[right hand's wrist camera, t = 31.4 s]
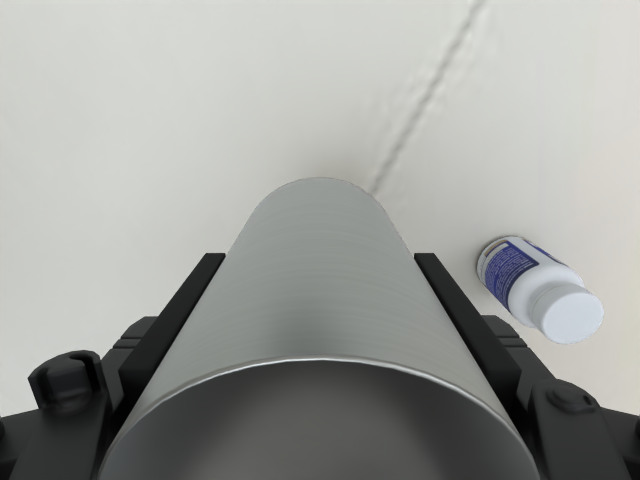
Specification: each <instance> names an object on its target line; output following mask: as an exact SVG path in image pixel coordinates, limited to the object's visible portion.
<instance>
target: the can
mask: <svg viewBox="0 0 640 480" xmlns="http://www.w3.org/2000/svg"><path fill="white" fill-rule="evenodd" d="M97 480H540V475H539V473H538V470H537V467H536V464H535V462H534V459H533V456H532V454H531V453H530V451H529V449H528V448H527V446H526V444H525V443H524V441H523V439H522V438H521V436H520V434H519V433H518V431H517V429H516V428H515V426H514V424H513V423H512V421H511V419H510V418H509V416H508V414H507V413H506V411H505V409H504V408H503V406H502V404H501V403H500V401H499V399H498V398H497V396H496V394H495V393H494V391H493V389H492V388H491V386H490V384H489V383H488V381H487V379H486V378H485V376H484V375H483V373H482V371H481V370H480V368H479V366H478V365H477V363H476V361H475V360H474V358H473V356H472V355H471V353H470V351H469V350H468V348H467V346H466V345H465V343H464V341H463V340H462V338H461V336H460V335H459V333H458V331H457V330H456V328H455V326H454V325H453V323H452V321H451V320H450V318H449V316H448V315H447V313H446V311H445V310H444V308H443V306H442V305H441V303H440V301H439V300H438V298H437V296H436V295H435V293H434V291H433V290H432V288H431V286H430V285H429V283H428V281H427V280H426V278H425V276H424V275H423V273H422V271H421V270H420V268H419V267H418V265H417V263H416V262H415V260H414V258H413V257H412V255H411V253H410V252H409V250H408V248H407V247H406V245H405V243H404V242H403V240H402V238H401V237H400V235H399V233H398V232H397V230H396V228H395V227H394V225H393V223H392V222H391V220H390V218H389V217H388V215H387V213H386V212H385V210H384V209H383V208H382V206H381V205H380V204H379V203H378V202H377V201H376V200H375V199H374V198H373V197H372V196H371V195H370V194H368V193H367V192H366V191H364V190H363V189H361V188H359V187H357V186H355V185H353V184H351V183H348V182H345V181H342V180H338V179H333V178H324V177H316V178H306V179H301V180H297V181H294V182H291V183H288V184H286V185H284V186H282V187H280V188H278V189H276V190H275V191H273V192H272V193H270V194H269V195H268V196H267V197H266V198H265V199H263V200H262V202H261V203H260V204H259V205H258V206H257V207H256V209H255V210H254V212H253V213H252V215H251V216H250V218H249V220H248V221H247V223H246V225H245V226H244V228H243V229H242V231H241V233H240V234H239V236H238V238H237V239H236V241H235V243H234V244H233V246H232V247H231V249H230V251H229V252H228V254H227V256H226V257H225V259H224V261H223V262H222V264H221V265H220V267H219V269H218V270H217V272H216V274H215V275H214V277H213V278H212V280H211V282H210V283H209V285H208V287H207V288H206V290H205V292H204V293H203V295H202V296H201V298H200V300H199V301H198V303H197V305H196V306H195V308H194V310H193V311H192V313H191V314H190V316H189V318H188V319H187V321H186V323H185V324H184V326H183V328H182V329H181V331H180V332H179V334H178V336H177V337H176V339H175V341H174V342H173V344H172V346H171V347H170V349H169V350H168V352H167V354H166V355H165V357H164V359H163V360H162V362H161V364H160V365H159V367H158V368H157V370H156V372H155V373H154V375H153V377H152V378H151V380H150V382H149V383H148V385H147V386H146V388H145V390H144V391H143V393H142V395H141V396H140V398H139V400H138V401H137V403H136V404H135V406H134V408H133V409H132V411H131V413H130V414H129V416H128V418H127V419H126V421H125V422H124V424H123V426H122V427H121V429H120V431H119V432H118V434H117V436H116V437H115V439H114V440H113V442H112V444H111V445H110V447H109V449H108V450H107V452H106V455H105V457H104V460H103V462H102V464H101V467H100V469H99V473H98V478H97Z"/></svg>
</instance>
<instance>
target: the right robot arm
mask: <svg viewBox="0 0 640 480" xmlns="http://www.w3.org/2000/svg"><path fill="white" fill-rule="evenodd" d="M225 257H226V255H225V253H206V254H205V255H204V256H203V258H202V259H201V260H200V262H199V263H198V264H197V266H196V267H195V268H194V270H193V271H192V272H191V274H190V275H189V276H188V278H187V279H186V280H185V282H184V283H183V284H182V286H181V287H180V288H179V290H178V291H177V292H176V294H175V295H174V296H173V298H172V299H171V300H170V301H169V303H168V304H167V305H166V307H165V308H164V309H163V311H162V312H161V313H160V315H159V316H158V317H143V318H142V319H140V320H139V321H137V322H135V323H134V324H132V325H131V326H130V327H129V328H128V329H127V330H126V331H125V333H124V334H123V335H122V336H121V339H119V340H118V341H117V342H116V343H115V344H114V346H113V348H112V349H110V350H109V351H108V353H107V354H106V355H105V356H104V357H103V358H102V360H100V357H99V355H98V354H96V353H95V352H94V351H87V350H80V351H71V352H68V353H65V354H61V355H58V356H56V357H54V358H52V359H50V360H48V361H46V362H44V363H43V364H41V365H40V366H39V367H37V368H36V369H35V370H34V371H33V372H32V373H31V374H30V376H29V377H28V381H29V383H30V386H31V389H32V391H33V394H34V397H35V400H36V402H37V405H38V408H39V409H36V410H32V411H28V412H23V413H19V414H15V415H10V416H6V417H2V418H1V416H0V480H97V478H98V473H99V469H100V467H101V464H102V462H103V460H104V457H105V455H106V452H107V450H108V449H109V447H110V445H111V444H112V442H113V440H114V439H115V437H116V436H117V434H118V432H119V431H120V429H121V427H122V426H123V424H124V422H125V421H126V419H127V418H128V416H129V414H130V413H131V411H132V409H133V408H134V406H135V404H136V403H137V401H138V400H139V398H140V396H141V395H142V393H143V391H144V390H145V388H146V386H147V385H148V383H149V382H150V380H151V378H152V377H153V375H154V373H155V372H156V370H157V368H158V367H159V365H160V364H161V362H162V360H163V359H164V357H165V355H166V354H167V352H168V350H169V349H170V347H171V346H172V344H173V342H174V341H175V339H176V337H177V336H178V334H179V332H180V331H181V329H182V328H183V326H184V324H185V323H186V321H187V319H188V318H189V316H190V314H191V313H192V311H193V310H194V308H195V306H196V305H197V303H198V301H199V300H200V298H201V296H202V295H203V293H204V292H205V290H206V288H207V287H208V285H209V283H210V282H211V280H212V278H213V277H214V275H215V274H216V272H217V270H218V269H219V267H220V265H221V264H222V262H223V261H224V259H225ZM414 260H415V262H416V263H417V265H418V267H419V268H420V270H421V271H422V273H423V275H424V276H425V278H426V280H427V281H428V283H429V285H430V286H431V288H432V290H433V291H434V293H435V295H436V296H437V298H438V300H439V301H440V303H441V305H442V306H443V308H444V310H445V311H446V313H447V315H448V316H449V318H450V320H451V321H452V323H453V325H454V326H455V328H456V330H457V331H458V333H459V335H460V336H461V338H462V340H463V341H464V343H465V345H466V346H467V348H468V350H469V351H470V353H471V355H472V356H473V358H474V360H475V361H476V363H477V365H478V366H479V368H480V370H481V371H482V373H483V375H484V376H485V378H486V379H487V381H488V383H489V384H490V386H491V388H492V389H493V391H494V393H495V394H496V396H497V398H498V399H499V401H500V403H501V404H502V406H503V408H504V409H505V411H506V413H507V414H508V416H509V418H510V419H511V421H512V423H513V424H514V426H515V428H516V429H517V431H518V433H519V434H520V436H521V438H522V439H523V441H524V443H525V444H526V446H527V448H528V449H529V451H530V453H531V454H532V456H533V459H534V462H535V464H536V467H537V470H538V473H539V475H540V480H640V416H637V415H632V414H628V413H623V412H619V411H615V410H610V409H606V408H603V407H600V405H599V404H598V402H597V401H596V399H595V398H593V397H592V396H591V395H590V394H589V393H587V392H586V391H585V390H583V389H581V388H579V387H578V386H576V385H574V384H572V383H569V382H566V381H563V380H560V379H556V378H555V377H554V376H553V375H552V374H551V372H550V371H549V370H548V369H547V368H546V366H545V365H544V364H543V363H542V362H541V361H540V359H539V358H538V357H537V356H536V355H535V354H534V352H533V351H532V350H531V349H530V348H528V347H527V344H526V343H525V342H524V341H523V340H522V338H519V335H518V334H517V333H516V331H515V330H514V329H513V328H512V327H511V326H510V325H509V324H508V323H506V322H505V321H503V320H502V319H500V318H499V317H497V316H496V315H480V314H479V312H478V311H477V310H476V308H475V307H474V306H473V304H472V303H471V302H470V300H469V299H468V298H467V297H466V295H465V294H464V293H463V291H462V290H461V289H460V287H459V286H458V285H457V283H456V282H455V281H454V279H453V278H452V277H451V275H450V274H449V273H448V271H447V270H446V269H445V267H444V266H443V265H442V263H441V262H440V261H439V259H438V258H437V257H436V255H435V254H434V253H414Z"/></svg>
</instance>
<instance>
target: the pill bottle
mask: <svg viewBox="0 0 640 480" xmlns="http://www.w3.org/2000/svg"><path fill="white" fill-rule="evenodd" d="M477 272H478V276H479V278H480V280H481V282H482V283H483V284H484V285H485V286H486V287H487V289H488V290H489V291H490V292H491V293H492V294H493V295H494V296H495V297H496V298H497V299H498V300H499V301H500V302H501V304H502V305H503V306H504V307H505V308H506V309H507V310H508V311H509V312H510V313H511V314H512V315H513V317H514V318H515V319H517V320H518V321H519V322H520V323H522V324H523V325H525V326H528V327H531V328H535V329H539V330H540V331H541V332H542V333H543V334H544V335H545V336H546V337H547V338H548V339H549V340H551V341H553V342H555V343H559V344H573V343H577V342H580V341H582V340H584V339H586V338H588V337H589V336H591V335H592V334H593V333H594V332H595V331H596V330H597V329H598V327H599V326H600V324H601V322H602V319H603V316H604V309H603V305H602V303H601V302H600V300H599V299H598V298H597V297H596V296H594V295H593V294H592V293H590V292H589V291H588V290H586V289H585V286H584V283H583V280H582V279H581V277H580V276H579V275H578V274H577V273H576V272H575V271H574V270H573V269H571V268H570V267H568V266H567V265H565V264H564V263H562V262H561V261H559V260H557V259H556V258H554V257H553V256H551V255H550V254H548V253H547V252H545V251H543V250H542V249H540V248H539V247H537V246H536V245H534V244H533V243H531V242H530V241H528V240H526V239H524V238H520V237H514V236H510V237H504V238H501V239H498V240H496V241H494V242H493V243H491V244H490V245H489V246H487V247H486V248H485V250H484V251H483V252H482V254H481V255H480V258H479V260H478V264H477Z"/></svg>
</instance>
